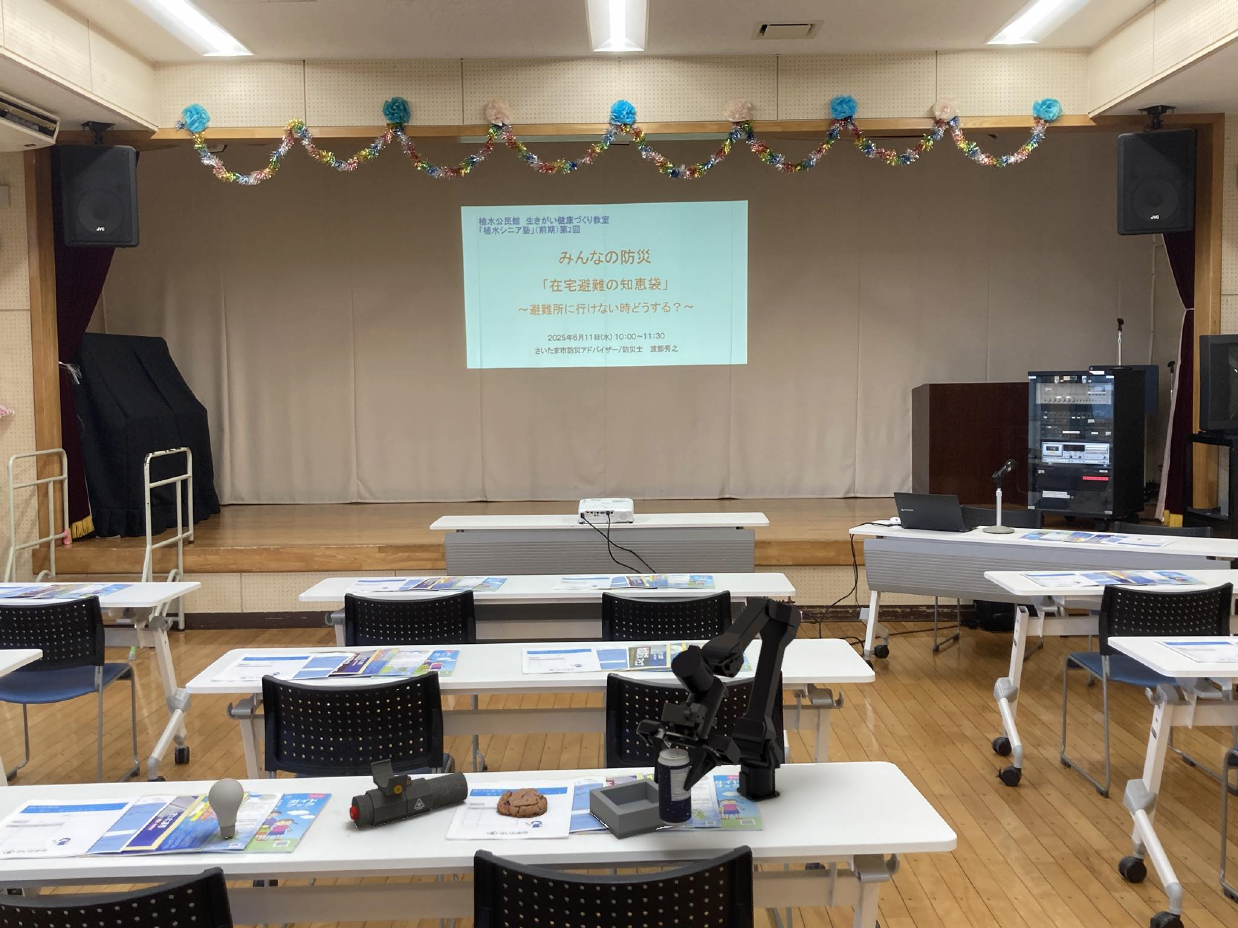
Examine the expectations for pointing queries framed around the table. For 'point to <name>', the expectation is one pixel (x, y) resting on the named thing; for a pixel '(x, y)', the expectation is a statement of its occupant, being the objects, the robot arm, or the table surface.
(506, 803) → the cookie
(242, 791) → the lightbulb
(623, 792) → the can bin
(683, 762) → the beverage can
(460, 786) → the laser sight
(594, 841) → the table surface
